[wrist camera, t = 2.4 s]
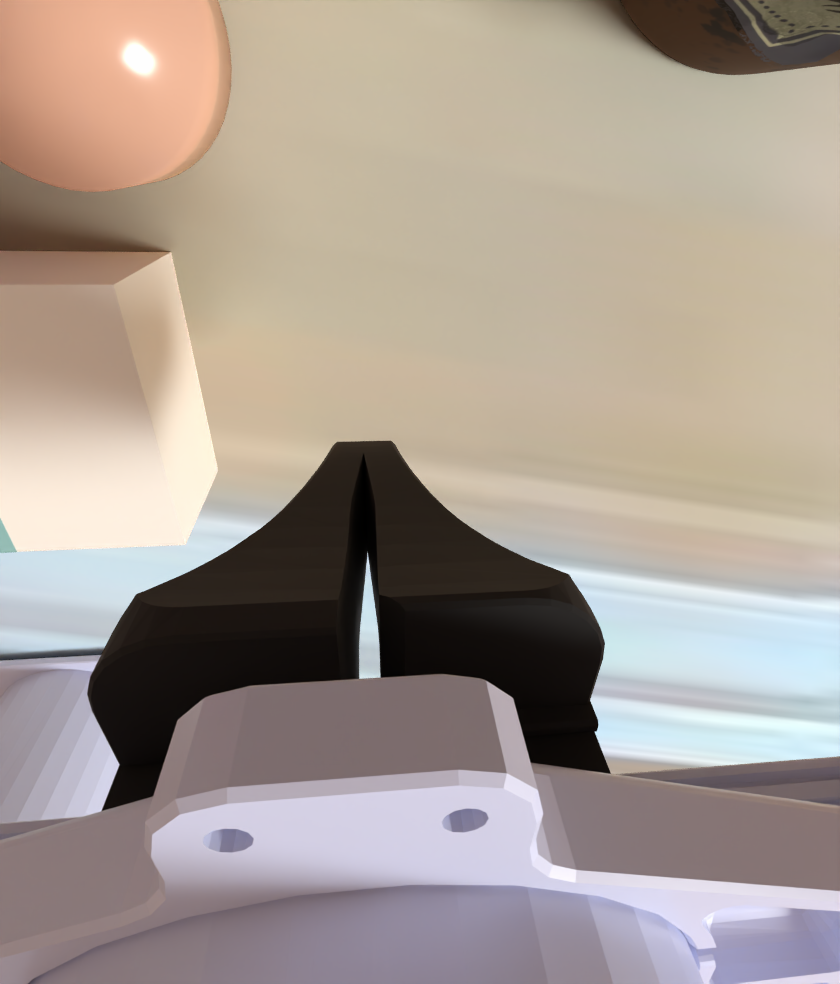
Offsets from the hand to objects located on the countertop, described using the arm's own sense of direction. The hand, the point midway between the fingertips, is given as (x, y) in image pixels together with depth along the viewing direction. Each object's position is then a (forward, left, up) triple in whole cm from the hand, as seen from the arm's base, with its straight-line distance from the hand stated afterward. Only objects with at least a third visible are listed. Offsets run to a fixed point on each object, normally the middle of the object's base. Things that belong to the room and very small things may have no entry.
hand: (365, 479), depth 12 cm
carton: (0, +10, -7) cm, 12 cm away
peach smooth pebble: (+8, +6, -7) cm, 13 cm away
